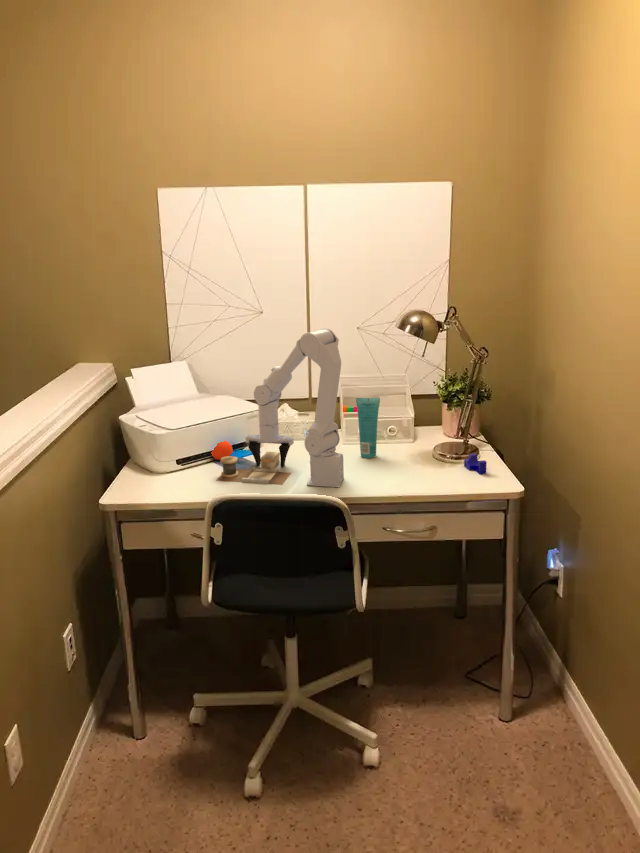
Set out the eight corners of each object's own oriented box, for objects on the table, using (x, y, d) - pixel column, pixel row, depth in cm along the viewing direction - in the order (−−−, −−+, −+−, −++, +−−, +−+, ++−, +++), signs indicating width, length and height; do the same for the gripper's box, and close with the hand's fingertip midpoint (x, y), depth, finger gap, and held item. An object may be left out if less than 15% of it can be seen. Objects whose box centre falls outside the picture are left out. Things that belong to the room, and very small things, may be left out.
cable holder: (463, 466, 224) (464, 454, 223) (474, 465, 225) (475, 453, 224) (475, 475, 216) (475, 462, 215) (486, 474, 217) (486, 461, 216)
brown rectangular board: (291, 477, 218) (291, 469, 217) (282, 489, 208) (282, 481, 208) (228, 473, 222) (227, 465, 222) (216, 485, 213) (215, 477, 212)
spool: (240, 472, 218) (239, 456, 217) (235, 478, 214) (234, 462, 212) (224, 471, 220) (223, 455, 218) (218, 477, 215) (217, 461, 213)
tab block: (280, 467, 227) (279, 452, 225) (274, 474, 221) (273, 458, 220) (267, 466, 228) (266, 451, 226) (261, 473, 222) (260, 457, 220)
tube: (379, 453, 237) (379, 395, 232) (380, 458, 233) (380, 399, 227) (356, 454, 237) (355, 396, 232) (356, 458, 232) (356, 400, 227)
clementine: (214, 467, 228) (213, 445, 226) (204, 461, 233) (203, 440, 231) (237, 461, 232) (236, 440, 230) (226, 456, 238) (225, 435, 236)
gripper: (295, 420, 222) (297, 462, 226) (249, 418, 225) (252, 460, 229) (289, 426, 216) (290, 470, 219) (242, 424, 219) (244, 467, 223)
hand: (270, 465), depth 224 cm, fingers open, 7 cm apart
